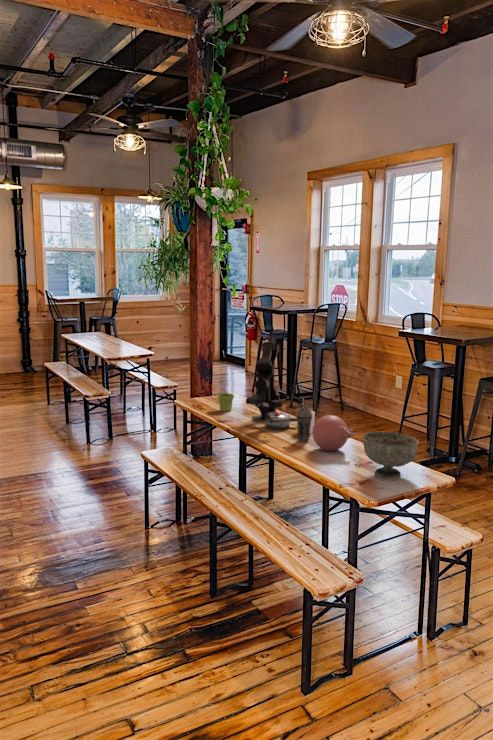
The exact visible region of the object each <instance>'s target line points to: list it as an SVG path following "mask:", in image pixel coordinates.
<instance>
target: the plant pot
mask: <svg viewBox="0 0 493 740" xmlns="http://www.w3.org/2000/svg"><path fill="white" fill-rule="evenodd" d="M234 397H235V394H233V393H220V394H217V399H218V403H219V411H220V412H224V413H227V412H231V411H232V409H233V408H232V407H233V401H234Z"/></svg>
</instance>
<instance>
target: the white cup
mask: <svg viewBox="0 0 493 740" xmlns="http://www.w3.org/2000/svg"><path fill="white" fill-rule="evenodd" d="M310 411H311V413H312V420H311V425H310V433H309V435H311V434H312V431H313V427H314V424H315V417H316V412H315V411H313V410H310Z"/></svg>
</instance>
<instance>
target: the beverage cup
mask: <svg viewBox="0 0 493 740" xmlns="http://www.w3.org/2000/svg"><path fill="white" fill-rule="evenodd" d="M311 411H312V410H310V409H309V408H308V407H305V398H303V397H302V407H301V408H299V409H298V410H297V412H296V417H295V418H297V421H296V422H297V424H296V425H297V437H298V442H301V443H307V442H309V439H310V434H309V433H310V425H311V420H312V413H311Z"/></svg>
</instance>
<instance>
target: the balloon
mask: <svg viewBox="0 0 493 740" xmlns="http://www.w3.org/2000/svg"><path fill="white" fill-rule="evenodd" d="M351 437H354V431H353V429H351V428H350V429H349V428H348V426H347V424H346V422H345V421H344V420H343V419H342V418H341V417H339V416H336V415H331V414H328V415H327V414H326V415H324V416H323V415H322V417H320V418H319V419H317V420H316V422H314V427H313V431H312V439H313V441H314V443H315V445H316V446H317V447H319V448H320V449H322V450H324V451H327V452H328V451H329V452H335V451H338V450H340V449H341V448H343V446H345V444H346V442H348V440H349V439H351Z"/></svg>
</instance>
